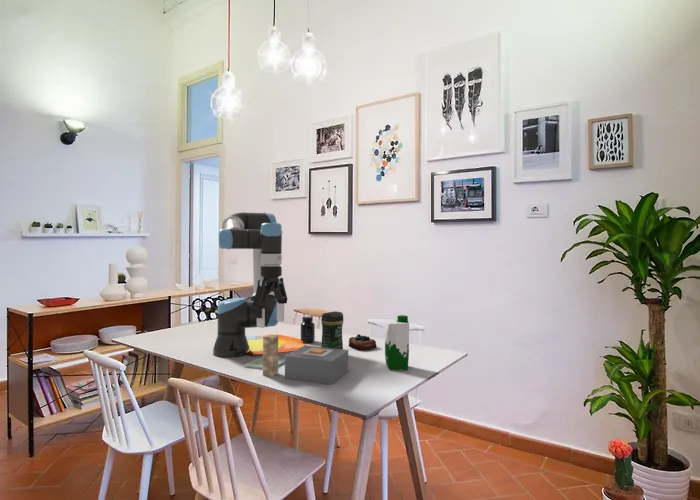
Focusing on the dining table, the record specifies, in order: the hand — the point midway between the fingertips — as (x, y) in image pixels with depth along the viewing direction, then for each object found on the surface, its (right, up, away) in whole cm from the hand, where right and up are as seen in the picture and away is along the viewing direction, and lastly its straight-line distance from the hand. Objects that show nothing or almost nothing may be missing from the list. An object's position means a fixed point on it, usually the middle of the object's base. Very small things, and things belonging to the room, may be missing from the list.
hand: (270, 324), depth 148 cm
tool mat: (-4, -18, +13) cm, 23 cm away
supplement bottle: (+8, -18, +50) cm, 53 cm away
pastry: (+35, -19, +40) cm, 56 cm away
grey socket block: (+17, -19, +1) cm, 25 cm away
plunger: (+17, -15, +1) cm, 22 cm away
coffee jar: (+21, -18, +27) cm, 39 cm away
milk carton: (+47, -19, +10) cm, 51 cm away
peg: (0, -18, +1) cm, 19 cm away
